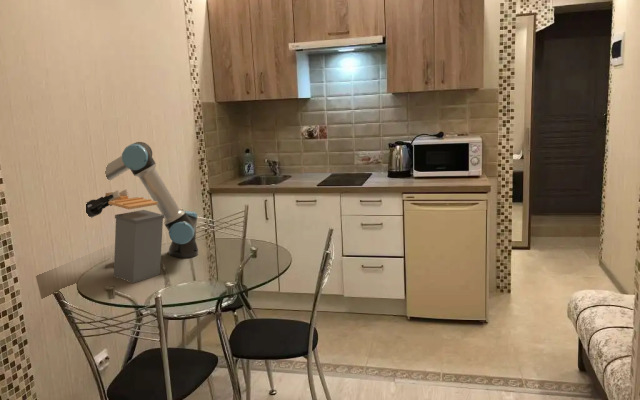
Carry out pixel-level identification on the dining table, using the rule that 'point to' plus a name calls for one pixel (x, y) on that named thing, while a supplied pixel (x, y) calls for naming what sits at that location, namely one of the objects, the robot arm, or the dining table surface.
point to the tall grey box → (138, 245)
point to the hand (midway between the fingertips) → (122, 192)
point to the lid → (131, 202)
